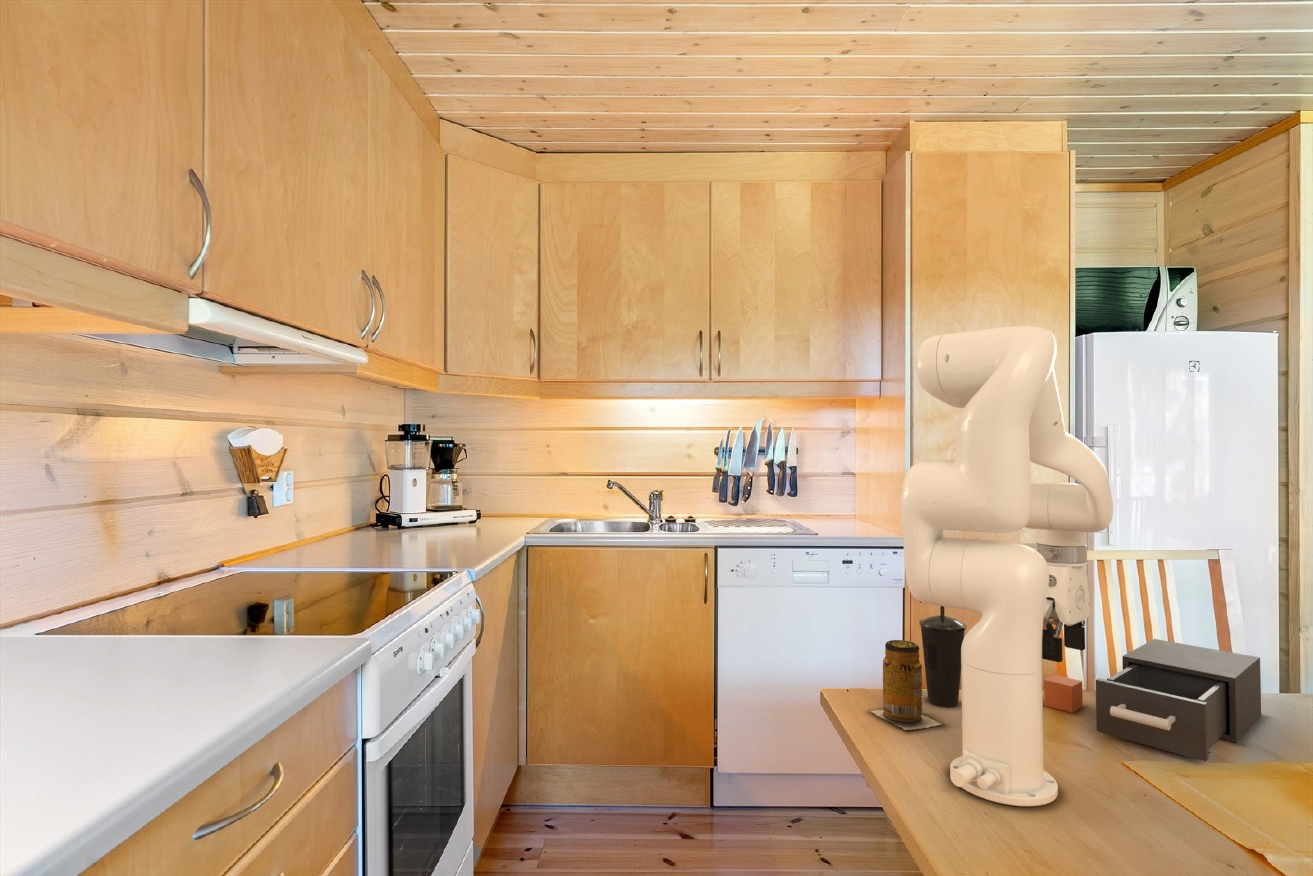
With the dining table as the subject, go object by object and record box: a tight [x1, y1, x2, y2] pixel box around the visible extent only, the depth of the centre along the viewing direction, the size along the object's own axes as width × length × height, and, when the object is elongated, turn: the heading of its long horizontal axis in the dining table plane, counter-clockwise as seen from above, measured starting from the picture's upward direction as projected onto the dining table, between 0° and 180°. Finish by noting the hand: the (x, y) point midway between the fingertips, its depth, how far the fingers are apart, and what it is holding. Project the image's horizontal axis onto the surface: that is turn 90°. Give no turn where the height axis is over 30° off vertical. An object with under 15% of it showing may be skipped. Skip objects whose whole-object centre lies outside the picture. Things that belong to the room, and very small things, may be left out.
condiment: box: [870, 639, 943, 731], centre depth 112 cm, size 7×8×12 cm
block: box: [1043, 674, 1084, 714], centre depth 117 cm, size 4×4×4 cm
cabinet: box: [1121, 638, 1262, 744], centre depth 113 cm, size 17×15×10 cm
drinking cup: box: [918, 606, 967, 708], centre depth 119 cm, size 8×8×20 cm
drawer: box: [1095, 663, 1228, 762], centre depth 103 cm, size 20×13×8 cm
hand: (1063, 654), depth 118 cm, fingers open, 9 cm apart
